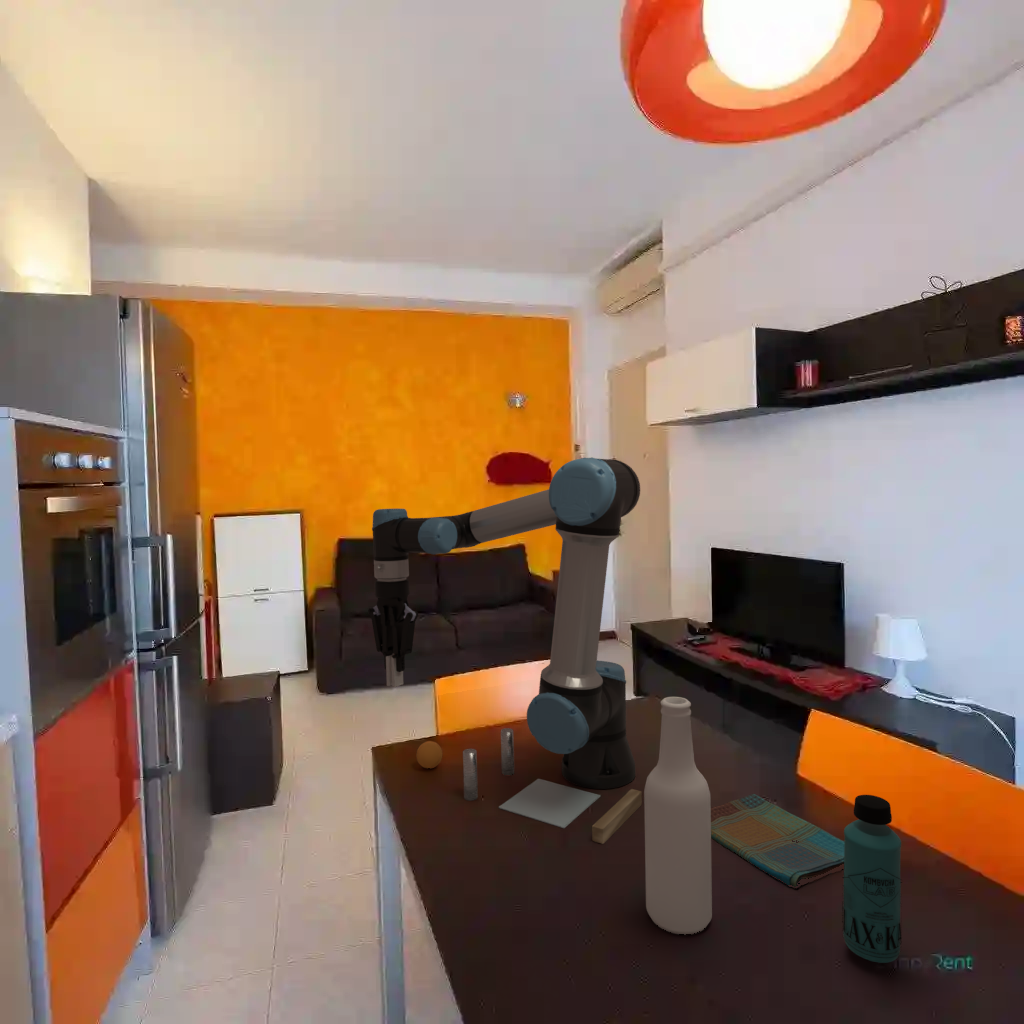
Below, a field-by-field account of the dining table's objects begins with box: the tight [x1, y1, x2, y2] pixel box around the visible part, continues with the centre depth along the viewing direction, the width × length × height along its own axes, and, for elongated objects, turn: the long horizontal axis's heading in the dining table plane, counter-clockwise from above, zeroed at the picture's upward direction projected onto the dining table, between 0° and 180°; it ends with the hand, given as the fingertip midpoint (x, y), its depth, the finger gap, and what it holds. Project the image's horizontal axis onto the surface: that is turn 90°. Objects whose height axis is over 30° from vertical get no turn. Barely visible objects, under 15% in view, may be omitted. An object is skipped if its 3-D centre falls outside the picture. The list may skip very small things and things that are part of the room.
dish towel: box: [711, 793, 845, 887], centre depth 110 cm, size 17×23×2 cm
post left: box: [462, 748, 479, 801], centre depth 128 cm, size 3×3×9 cm
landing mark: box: [498, 778, 601, 829], centre depth 125 cm, size 14×14×1 cm
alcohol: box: [643, 696, 713, 936], centre depth 91 cm, size 9×9×30 cm
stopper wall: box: [591, 788, 643, 845], centre depth 117 cm, size 2×16×2 cm, turn 146°
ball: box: [415, 740, 443, 769], centre depth 142 cm, size 6×6×6 cm
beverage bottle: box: [841, 794, 903, 964], centre depth 82 cm, size 6×7×20 cm
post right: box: [500, 728, 515, 776], centre depth 138 cm, size 3×3×9 cm
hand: (395, 684), depth 147 cm, fingers closed
